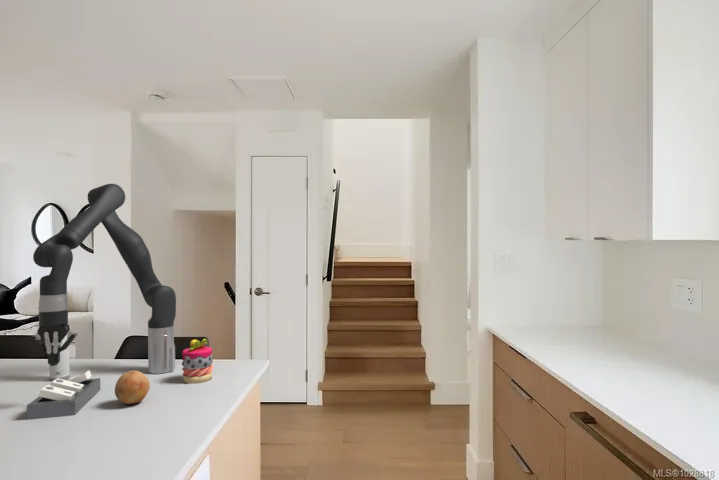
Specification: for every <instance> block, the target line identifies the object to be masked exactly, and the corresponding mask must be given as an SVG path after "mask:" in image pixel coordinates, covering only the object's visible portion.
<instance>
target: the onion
mask: <svg viewBox="0 0 719 480" xmlns="http://www.w3.org/2000/svg"><path fill="white" fill-rule="evenodd" d="M150 383H151V382H150V380H149V378H148V377H147V375H145V373H143V372H141V371H139V370H128V371H126V372H124V373H122V374H121V376H120V377H119V378H118V380H117V381H116V383H115V386H114V395H115V398H116V399H118V400H117V401H119V402H120V403H123V404H125V405H133V404H137V403H140V402H142V401H143V400H144V399H145V398H146V396H147V395H148V393H149V391H150V388H151V384H150Z"/></svg>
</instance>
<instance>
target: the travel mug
mask: <svg viewBox="0 0 719 480" xmlns="http://www.w3.org/2000/svg"><path fill="white" fill-rule="evenodd" d="M68 326H69V327H70V324H68ZM66 340H67V335H66V336H65V337H64V339H63V340H62V344H61V346H62V345H63V344H64V343H65V342H66ZM70 354H71V353H70V345H69V346H68V347H67V349H65V350H63V351H61V352H60V362H59V363H58V365H56V366H50V364H48V366H49V381H50V382H52V381H54V380H55V379H57V378H59V379H63V380H66V379H69V378H71V374H70V371H71V370H70V369H71V367H70V363H71V362H70Z"/></svg>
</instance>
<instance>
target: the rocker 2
mask: <svg viewBox="0 0 719 480" xmlns="http://www.w3.org/2000/svg"><path fill="white" fill-rule="evenodd" d="M92 376H93V375H92V372H91V370H89V369H88V370H87V371H83V372H82V373H79V374H77V375H74V376H72V377H71V376H70V377H69V378H68V379H65V380H67V381H71V382H75V383H80V382H82V381H85V380H87V379H91V377H92Z"/></svg>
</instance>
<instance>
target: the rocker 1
mask: <svg viewBox="0 0 719 480" xmlns="http://www.w3.org/2000/svg"><path fill="white" fill-rule="evenodd" d="M75 393H76V392H74V391H70V390H66V389H62V388H58V387H54V386H50V385H48V384H47V385H46V386H44V387H42V388H41V389H40V390H39V393H38V397H39V396H40V397H44V398H48V399H53V400H57V401H60V400H71V399H72V398H73V397H74V395H75Z"/></svg>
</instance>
